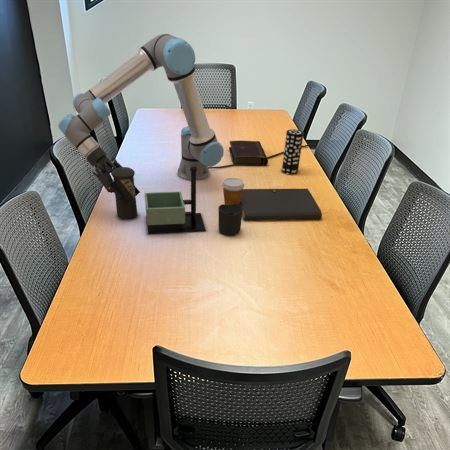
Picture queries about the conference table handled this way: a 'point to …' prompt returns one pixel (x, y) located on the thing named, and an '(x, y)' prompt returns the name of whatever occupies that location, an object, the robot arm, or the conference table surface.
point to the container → (125, 192)
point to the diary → (248, 153)
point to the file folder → (279, 204)
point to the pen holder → (230, 219)
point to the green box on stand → (173, 211)
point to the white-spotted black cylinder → (292, 151)
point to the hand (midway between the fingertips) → (132, 198)
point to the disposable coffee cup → (232, 190)
